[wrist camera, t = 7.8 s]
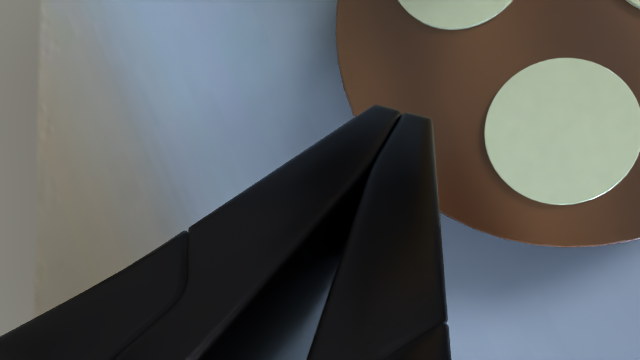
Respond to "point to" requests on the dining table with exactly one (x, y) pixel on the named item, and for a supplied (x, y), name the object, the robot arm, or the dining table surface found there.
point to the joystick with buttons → (512, 107)
